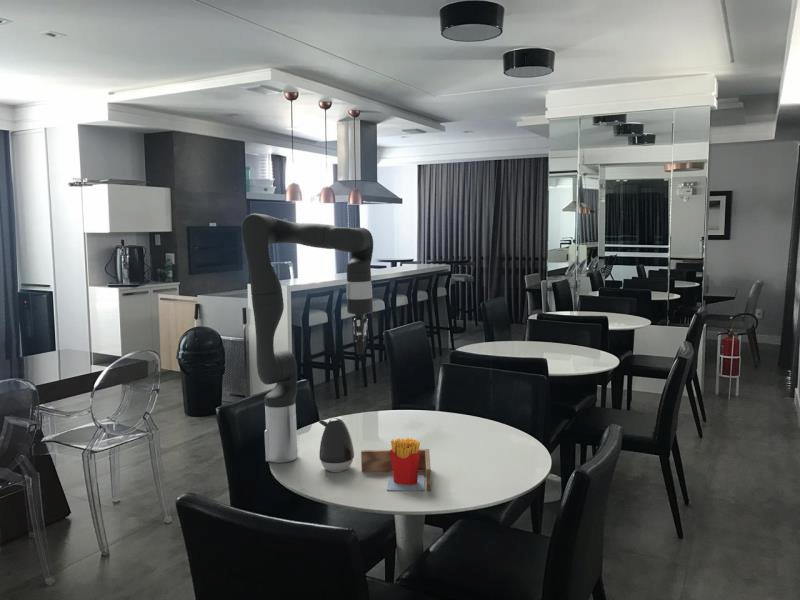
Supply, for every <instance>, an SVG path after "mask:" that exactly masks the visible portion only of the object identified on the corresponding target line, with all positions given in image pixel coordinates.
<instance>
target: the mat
mask: <svg viewBox="0 0 800 600" xmlns="http://www.w3.org/2000/svg"><path fill="white" fill-rule="evenodd" d="M425 486H426V485H425V475H424V474H423V475H422V474H421V475H420V474H418V480H417V483H416V484H414V485H404V484H398V483H395V482H394V479H393V475H388V478H387V489H386V490H387V492H401V491H402V492H403V491H404V492H407V491H408V492H409V491H426V489H425Z"/></svg>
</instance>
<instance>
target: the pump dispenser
mask: <svg viewBox="0 0 800 600" xmlns="http://www.w3.org/2000/svg"><path fill="white" fill-rule="evenodd" d="M318 423H319V424H320V425H322V426H323V427H324V429H323V432H322V435H321V438H320V439H321V440H320V443H319V444H320V445H319V451H318V452H319V455H318V459H319V460H320V463H321V465H322V466H323V468H324V469H325V470H327V471H329V472H330V473H331V472H332V473H333V472H334V473H339V472H340V473H341V472H344V471H346V470H348V469H350V467H351V466H352V463H353V461H354V460H353V459H354V457H355V449H354V444H353V440H352V437H351V433H350V432H349V429H348V427H347V425H346V423H345V422H344V420H342V419H341V418H338V417H337V418H336V417H335V418H331V419H330V420H328V422H327V421H325V420H322V419H319V421H318Z"/></svg>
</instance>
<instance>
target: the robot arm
mask: <svg viewBox="0 0 800 600" xmlns="http://www.w3.org/2000/svg"><path fill="white" fill-rule="evenodd" d="M241 236H242V243H243V247H244V250H245V254H246V260H247V265H248V266H247V267H248V275H249V281H250V283H249V284H250V291H251V292H250V294H251V304H252V312H253V318H254V326H255V327H254V328H255V341H256V342H255V344H256V346H255V347H256V348H255V350H256V353H255V354H256V356H255V357H256V369H257V374H258V378H259V380H260V382H262V383H263V384H264V385H274V384H275V386H274V387H273V388H272V389H271V390H270V391H269V392H268V393H266V395H265V396H264V409H265V413H264V414H265V415H264V416H265V430H264V450H265V453H264V454H265V462H271V463H276V464H278V463H280V464H281V463H289V462H292V461H294V460H297V459H298V456H299V455H298V452H299V451H298V450H299V449H298V436H297V435H298V434H297V433H298V432H297V431H298V430H297V413H296V411H297V408H296V397H297V394H298V365H297V360H296V357H295V355H294V354H293V353H292V352H291V351H290V350H280V351H276V352H275V349H274V347H275V346H274V341H275V340H274V339H275V333H276V331H277V328H278V325H279V324H280V321H281V319H282V316H283V312H284V307H285V305H284V296H283V295H284V294H283V288H282V283H281V282H280V281H281V280H280V279H279V277H278V274H277V273H276V271H275V269H274V267H273V264H272V261H271V258H270V257H271V256H270V250H269V245H271V244H272V245H273V244H282V243H283V244H290V243H291V244H297V245H302V246H306V247H312V248H318V249H325V250H327V249H328V250H337V251H341V252H347V253H350V259H349V262H348V263H347V265H346V311H347V313H348V314H349V315H355V318H354V319H353V320H352V321H353V322H352V325H353V334H354V338H353V339H354V341H355V350H356V351H355V352H356V355H364V354H365V349H366V348H367V333H368V323H369V322H368V320H369V319H368V318H367V314H371V313H373V310H374V305H373V304H374V303H373V300H374V299H373V285H372V270H371V269H372V267H371V266H372V265H371V264H372V259H373V252H374V239H373V235H372V233H371V231H370V230H369V229H367V228H365V227H343V226H342V227H341V226H336V225H332V224H324V223H313V222H303V223H302V222H292V221H288V220H285V219H284V220H283V219H281V218H277V217H274V216H272V215H268V214H262V213H250V214H248V215H246V216H245V218H244V219H243V220H242V224H241Z"/></svg>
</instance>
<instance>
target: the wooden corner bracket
mask: <svg viewBox="0 0 800 600" xmlns="http://www.w3.org/2000/svg"><path fill="white" fill-rule="evenodd" d="M390 450H391V449H361V450H360V457H361V459H360V461H361V473H362V472H363V473H364V472H393V471H392V463H391V455H390ZM418 451H420V453H419V466H418V472H421V471H422V472H423V471H425V484H426V485H425V486H426V489H425V490H426V492H431V491H432V473H431V472H432V471H431V467H432V466H431V455H430V448H419V450H418Z"/></svg>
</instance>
